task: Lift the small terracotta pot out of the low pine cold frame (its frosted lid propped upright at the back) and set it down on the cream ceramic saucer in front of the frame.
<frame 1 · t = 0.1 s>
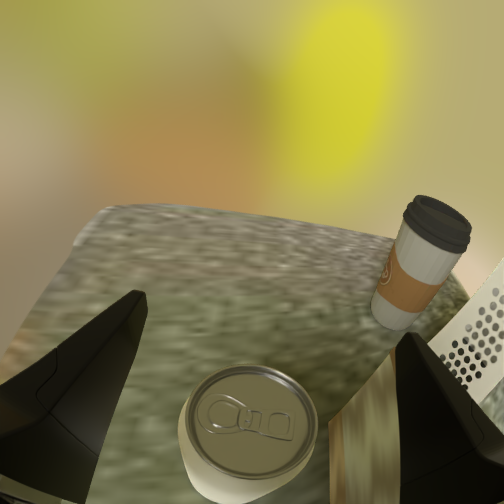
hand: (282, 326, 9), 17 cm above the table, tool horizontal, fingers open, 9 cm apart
coffee cup: (389, 314, 34), on the table
cold frame: (403, 494, 15), on the table
can: (229, 469, 18), on the table
grater: (460, 370, 27), on the table
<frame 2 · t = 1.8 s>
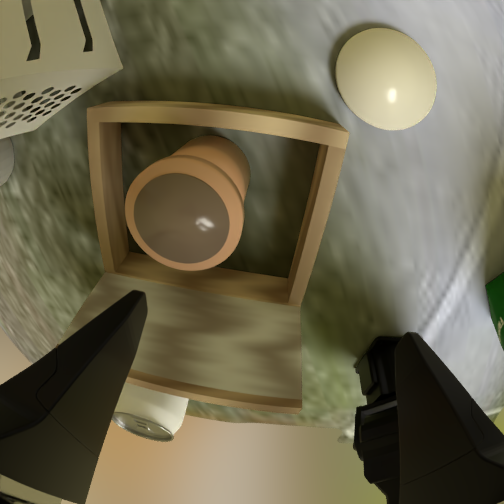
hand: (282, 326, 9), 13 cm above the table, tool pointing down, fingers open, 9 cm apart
pot: (210, 173, 20), resting in cold frame
cold frame: (208, 199, 21), on the table
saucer: (387, 78, 15), on the table
can: (175, 326, 30), on the table
grater: (55, 49, 15), on the table
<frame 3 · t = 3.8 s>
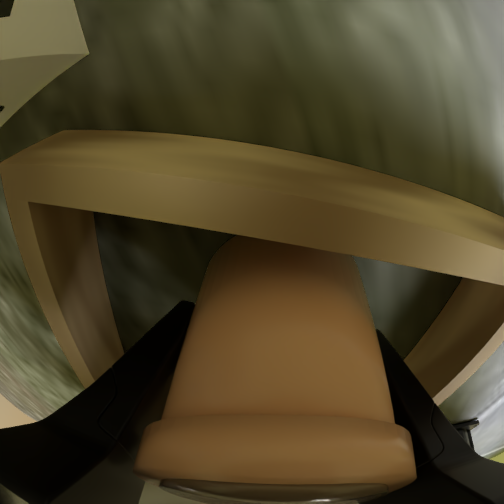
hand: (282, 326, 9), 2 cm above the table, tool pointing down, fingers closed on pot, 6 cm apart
pot: (282, 293, 10), resting in cold frame, touching gripper
cold frame: (271, 329, 12), on the table
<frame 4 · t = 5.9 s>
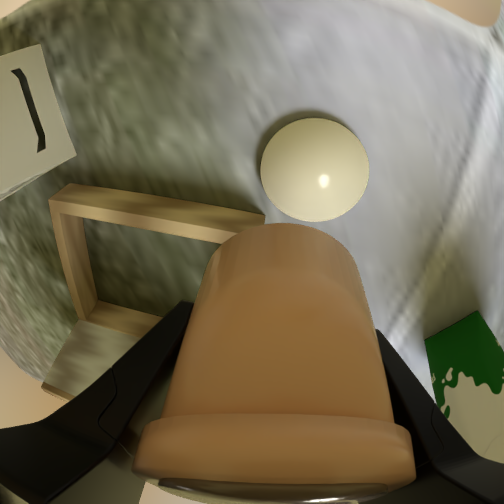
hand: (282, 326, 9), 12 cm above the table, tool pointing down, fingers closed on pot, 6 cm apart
milk carton: (455, 338, 27), on the table
pot: (281, 292, 10), point 11 cm above the table, touching gripper
cold frame: (156, 270, 24), on the table
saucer: (315, 170, 18), on the table
grater: (20, 124, 17), on the table
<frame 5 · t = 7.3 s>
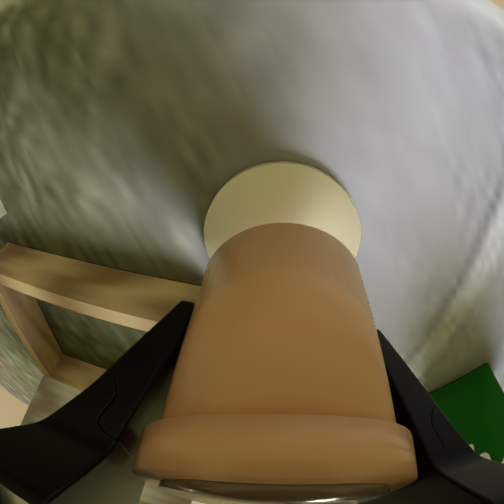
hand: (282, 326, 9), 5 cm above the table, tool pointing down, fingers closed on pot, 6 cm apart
milk carton: (459, 388, 22), on the table
pot: (282, 292, 10), point 4 cm above the table, touching gripper
cold frame: (110, 335, 20), on the table
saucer: (282, 234, 13), on the table
when the fingers open (3 cm above the table, at t = 8.2 s): pot drops 1 cm, resting on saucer.
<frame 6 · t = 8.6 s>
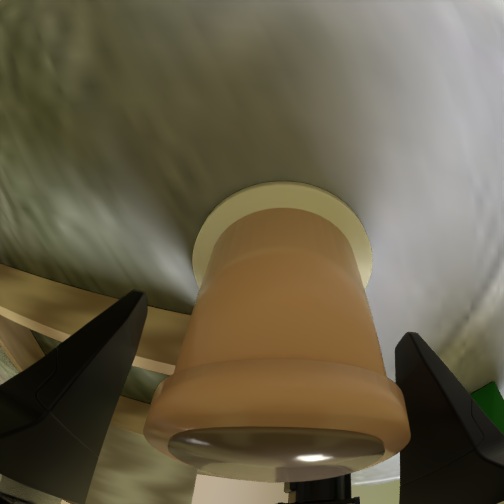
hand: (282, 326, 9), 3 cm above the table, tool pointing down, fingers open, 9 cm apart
milk carton: (464, 405, 20), on the table
pot: (282, 274, 11), point 1 cm above the table, touching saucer
cold frame: (100, 358, 18), on the table
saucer: (282, 264, 12), on the table
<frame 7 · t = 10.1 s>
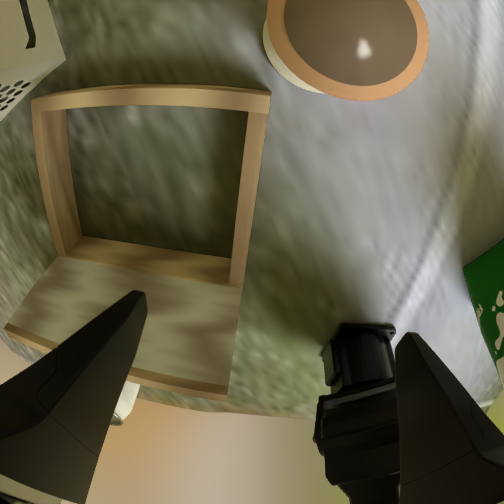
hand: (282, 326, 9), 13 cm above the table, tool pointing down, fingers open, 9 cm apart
milk carton: (493, 269, 22), on the table
pot: (323, 39, 13), point 1 cm above the table, touching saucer
cold frame: (146, 179, 20), on the table
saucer: (322, 39, 14), on the table
can: (134, 310, 29), on the table
grater: (12, 48, 13), on the table
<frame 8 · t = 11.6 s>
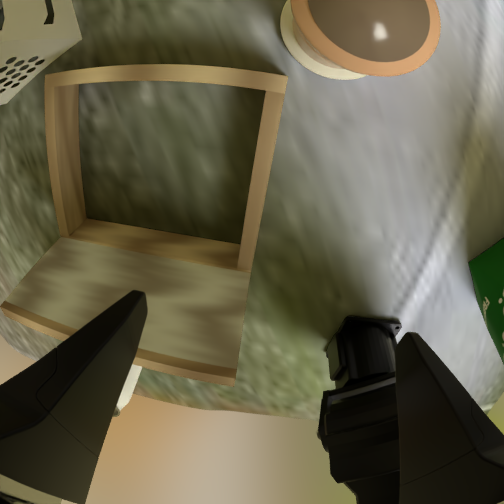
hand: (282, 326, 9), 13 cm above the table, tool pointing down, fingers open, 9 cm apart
milk carton: (498, 265, 22), on the table
pot: (338, 27, 13), point 1 cm above the table, touching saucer
cold frame: (157, 159, 20), on the table
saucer: (336, 29, 13), on the table
can: (135, 299, 28), on the table
grater: (27, 27, 13), on the table
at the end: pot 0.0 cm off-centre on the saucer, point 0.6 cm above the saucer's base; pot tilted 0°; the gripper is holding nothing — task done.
